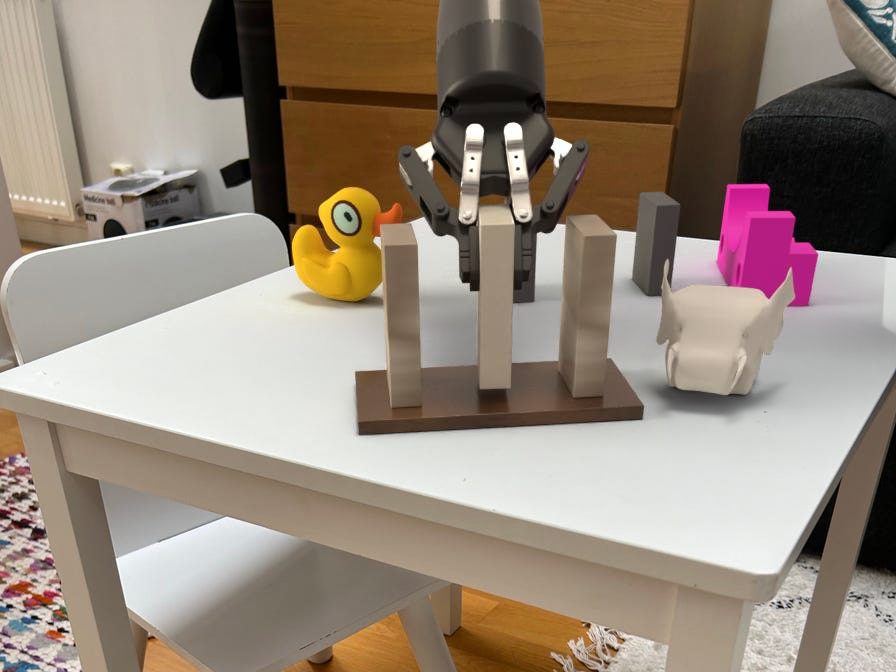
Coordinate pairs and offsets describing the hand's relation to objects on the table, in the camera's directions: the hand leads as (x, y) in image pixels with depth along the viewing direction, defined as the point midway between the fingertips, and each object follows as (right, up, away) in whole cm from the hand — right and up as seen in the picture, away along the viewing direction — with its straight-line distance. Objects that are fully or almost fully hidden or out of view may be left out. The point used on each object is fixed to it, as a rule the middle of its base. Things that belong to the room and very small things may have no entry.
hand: (496, 284), depth 67 cm
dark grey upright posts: (+11, +10, +30) cm, 33 cm away
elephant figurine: (+16, -5, +7) cm, 19 cm away
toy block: (+28, +11, +30) cm, 42 cm away
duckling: (-12, +9, +29) cm, 33 cm away
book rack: (0, -6, +7) cm, 9 cm away
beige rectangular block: (0, -5, +6) cm, 7 cm away
